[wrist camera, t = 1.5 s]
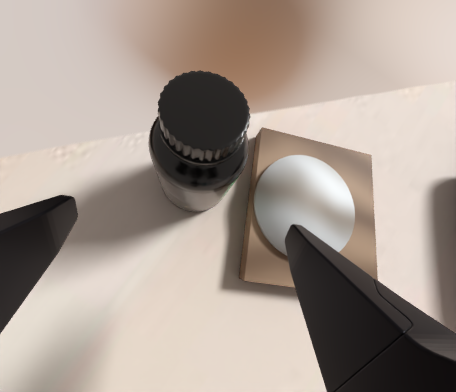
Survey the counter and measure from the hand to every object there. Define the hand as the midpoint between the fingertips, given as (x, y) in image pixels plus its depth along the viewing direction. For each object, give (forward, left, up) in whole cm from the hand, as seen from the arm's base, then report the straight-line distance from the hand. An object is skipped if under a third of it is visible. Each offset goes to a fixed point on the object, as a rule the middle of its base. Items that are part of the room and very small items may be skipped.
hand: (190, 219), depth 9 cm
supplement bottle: (+6, 0, -12) cm, 14 cm away
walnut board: (+5, -13, -12) cm, 18 cm away
